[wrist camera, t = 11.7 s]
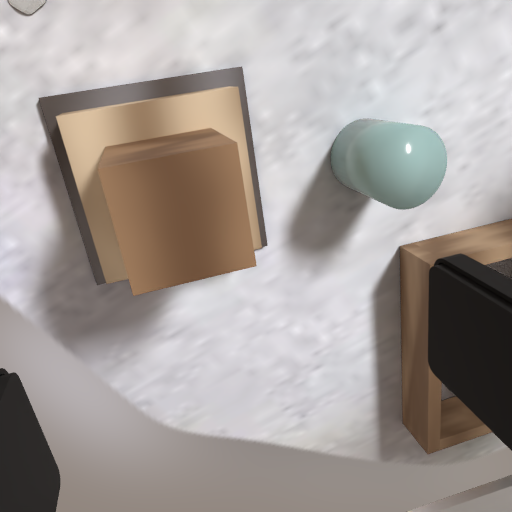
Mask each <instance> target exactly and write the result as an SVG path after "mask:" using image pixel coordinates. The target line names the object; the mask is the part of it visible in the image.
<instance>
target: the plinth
mask: <svg viewBox="0 0 512 512" xmlns="http://www.w3.org/2000/svg"><path fill="white" fill-rule="evenodd" d="M39 101H40V104H41V107H42V111H43V114H44V117H45V120H46V123H47V127H48V130H49V133H50V136H51V139H52V143H53V146H54V149H55V152H56V155H57V159H58V162H59V165H60V168H61V171H62V174H63V178H64V181H65V184H66V187H67V190H68V194H69V197H70V200H71V203H72V206H73V210H74V213H75V216H76V219H77V222H78V226H79V229H80V232H81V235H82V238H83V242H84V245H85V248H86V251H87V254H88V258H89V261H90V264H91V267H92V270H93V274H94V277H95V280H96V283H97V285H100V284H104V283H106V284H109V283H114V282H118V281H122V280H126V279H128V275H127V272H126V268H125V265H124V261H123V257H122V254H121V250H120V247H119V243H118V240H117V236H116V233H115V229H114V226H113V222H112V219H111V215H110V211H109V208H108V204H107V201H106V197H105V194H104V190H103V187H102V183H101V180H100V176H99V173H98V166H99V163H100V160H101V157H102V155H103V152H104V149H105V147H107V146H112V145H118V144H123V143H129V142H135V141H140V140H146V139H151V138H157V137H162V136H168V135H173V134H179V133H185V132H190V131H196V130H201V129H207V128H212V129H214V130H216V131H217V132H219V133H221V134H223V135H225V136H226V137H228V138H230V139H232V140H233V141H235V142H237V145H238V151H239V157H240V164H241V170H242V176H243V183H244V189H245V196H246V202H247V208H248V215H249V221H250V228H251V234H252V240H253V247H254V250H255V249H260V248H262V247H263V246H267V239H266V232H265V225H264V218H263V211H262V204H261V197H260V190H259V182H258V175H257V168H256V161H255V154H254V147H253V140H252V133H251V126H250V119H249V112H248V104H247V97H246V90H245V83H244V76H243V69H242V67H236V68H230V69H223V70H217V71H210V72H204V73H197V74H191V75H184V76H178V77H171V78H165V79H158V80H152V81H145V82H139V83H133V84H126V85H120V86H113V87H107V88H100V89H94V90H87V91H81V92H74V93H68V94H61V95H55V96H48V97H42V98H39Z"/></svg>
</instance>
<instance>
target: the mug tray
mask: <svg viewBox="0 0 512 512" xmlns="http://www.w3.org/2000/svg"><path fill="white" fill-rule="evenodd" d="M460 253H461V254H465V255H466V256H468V257H470V258H472V259H474V260H476V261H478V262H480V263H482V264H483V265H487V264H490V263H494V262H498V261H502V260H505V259H509V258H512V219H508V220H504V221H500V222H496V223H492V224H488V225H484V226H480V227H476V228H472V229H468V230H464V231H460V232H455V233H451V234H447V235H443V236H439V237H435V238H431V239H427V240H423V241H419V242H415V243H411V244H407V245H403V246H400V287H401V349H402V410H403V424H404V425H405V427H406V428H407V429H408V430H409V432H410V433H411V434H412V435H413V437H414V438H415V439H416V440H417V442H418V443H419V444H420V445H421V447H422V448H423V449H424V450H425V452H426V453H427V454H430V453H433V452H436V451H439V450H442V449H445V448H448V447H450V446H453V445H456V444H459V443H462V442H465V441H468V440H471V439H474V438H477V437H479V436H482V435H485V434H488V433H491V432H492V431H491V430H490V429H489V428H488V427H487V426H486V425H485V424H484V423H483V422H482V421H481V420H480V419H479V418H478V417H477V416H476V415H475V414H474V413H473V412H472V411H471V410H470V409H469V408H468V407H467V406H466V405H465V404H464V403H463V402H462V401H461V400H460V399H459V398H458V397H457V396H455V397H452V398H449V399H446V400H443V401H441V387H442V382H441V381H440V380H439V379H438V378H437V377H436V376H435V375H434V374H433V372H432V371H431V369H430V367H429V363H428V301H429V270H430V268H431V267H432V266H434V263H435V261H436V260H437V259H439V258H443V257H447V256H451V255H455V254H460Z"/></svg>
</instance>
